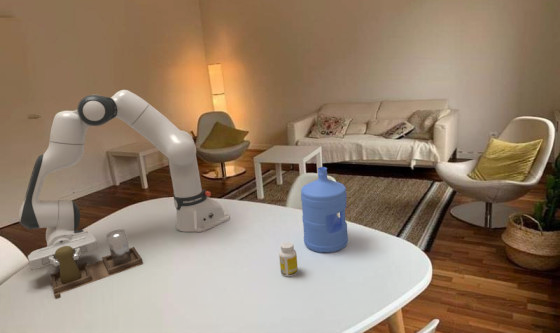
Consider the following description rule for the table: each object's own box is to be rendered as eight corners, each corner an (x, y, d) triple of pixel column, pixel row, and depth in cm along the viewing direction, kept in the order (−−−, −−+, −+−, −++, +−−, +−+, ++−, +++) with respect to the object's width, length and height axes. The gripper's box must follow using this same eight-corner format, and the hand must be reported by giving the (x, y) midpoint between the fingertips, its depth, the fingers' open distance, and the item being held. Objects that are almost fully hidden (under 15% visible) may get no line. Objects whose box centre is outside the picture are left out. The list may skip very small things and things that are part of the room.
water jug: (298, 250, 135) (292, 174, 127) (311, 230, 149) (307, 160, 141) (342, 256, 129) (339, 177, 121) (352, 234, 143) (350, 162, 135)
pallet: (134, 252, 144) (133, 245, 143) (144, 266, 133) (142, 260, 132) (52, 280, 130) (50, 273, 129) (55, 298, 119) (53, 291, 119)
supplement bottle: (299, 268, 124) (297, 241, 122) (295, 278, 120) (292, 250, 117) (283, 266, 126) (281, 239, 123) (278, 276, 121) (275, 248, 118)
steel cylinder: (129, 255, 139) (123, 227, 136) (133, 262, 134) (127, 233, 131) (111, 261, 136) (105, 233, 133) (115, 268, 131) (108, 239, 128)
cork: (72, 283, 123) (64, 253, 120) (56, 283, 125) (47, 252, 122) (85, 273, 129) (77, 243, 126) (69, 272, 130) (61, 243, 127)
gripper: (25, 246, 129) (26, 263, 118) (91, 227, 140) (98, 241, 128) (30, 263, 131) (31, 281, 120) (95, 243, 141) (102, 258, 130)
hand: (66, 260), depth 124 cm, fingers closed on cork, 4 cm apart
